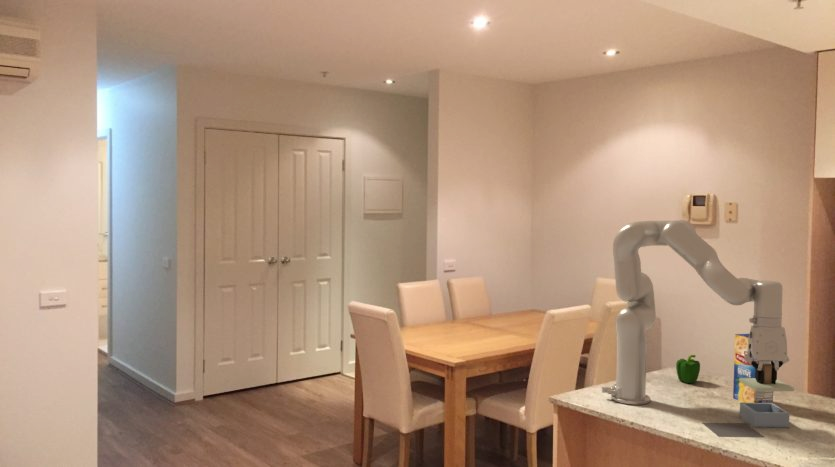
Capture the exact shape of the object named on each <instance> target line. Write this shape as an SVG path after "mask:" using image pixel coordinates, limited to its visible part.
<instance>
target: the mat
mask: <svg viewBox="0 0 835 467" xmlns="http://www.w3.org/2000/svg"><path fill="white" fill-rule="evenodd" d="M702 424H703V426H705V427H707V428H708V429H709V431H711V432H712V433H713V434H715V435H716V436H717V437H719V438H765V435H763V434H761V433H760V432H759V431H757V430H756V429H754V427H752V426H751V425H750V424H748V423H747V422H702Z"/></svg>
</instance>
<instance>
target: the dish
mask: <svg viewBox="0 0 835 467" xmlns="http://www.w3.org/2000/svg"><path fill="white" fill-rule="evenodd" d="M739 418H740V419H741V420H744V422H745V423H747V424H748V425H749V426H751V427H752V428H756V429H789V428H790V412H788V411H787V410H785V409H783V408H782V407H781V406H778V405H777V404H776V403H774V402H773V403H742V402H740V403H739Z"/></svg>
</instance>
